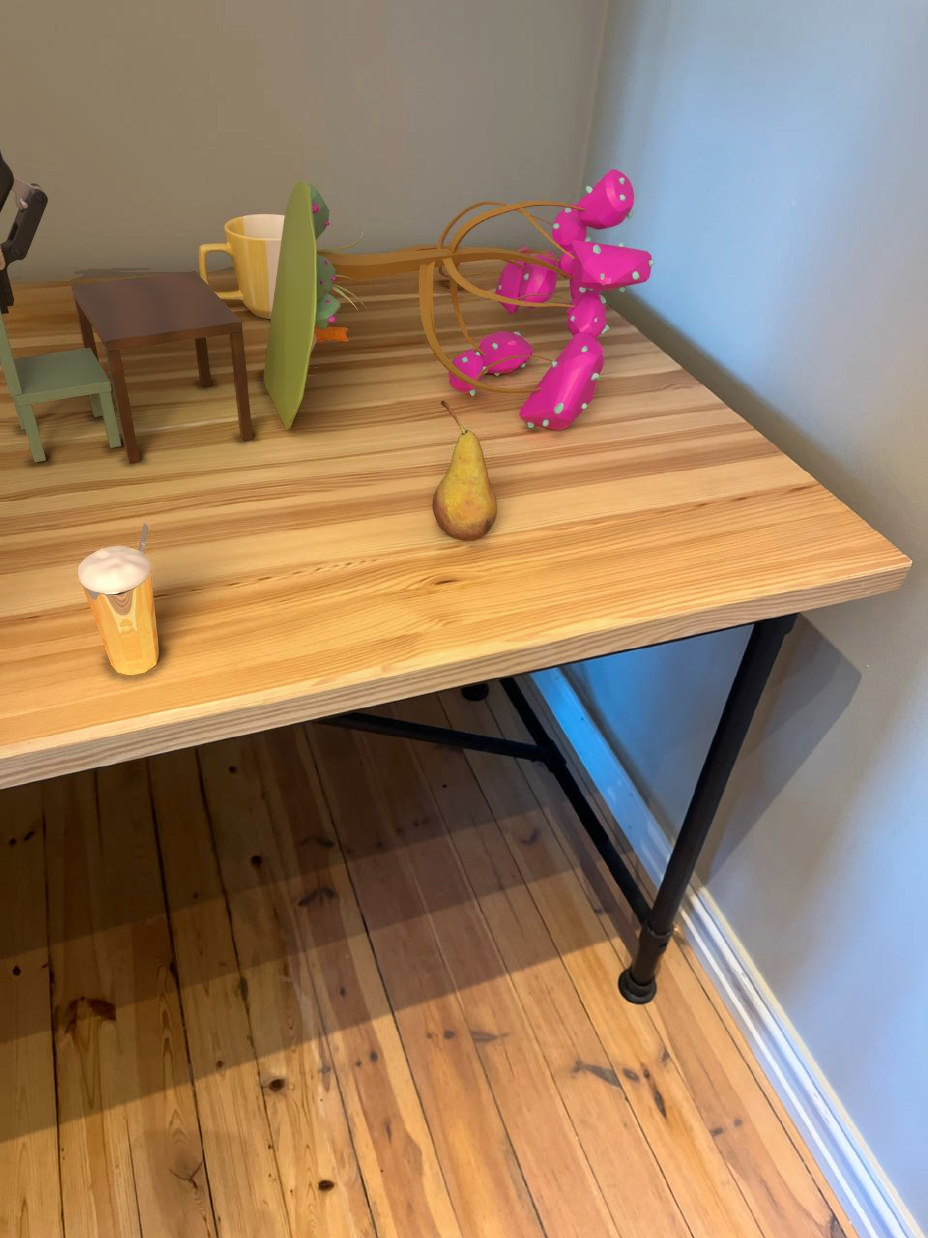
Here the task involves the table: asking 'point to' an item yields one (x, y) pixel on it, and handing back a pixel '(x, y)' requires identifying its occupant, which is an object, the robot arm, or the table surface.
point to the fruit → (465, 491)
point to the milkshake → (123, 605)
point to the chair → (56, 387)
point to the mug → (250, 259)
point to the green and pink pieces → (522, 282)
